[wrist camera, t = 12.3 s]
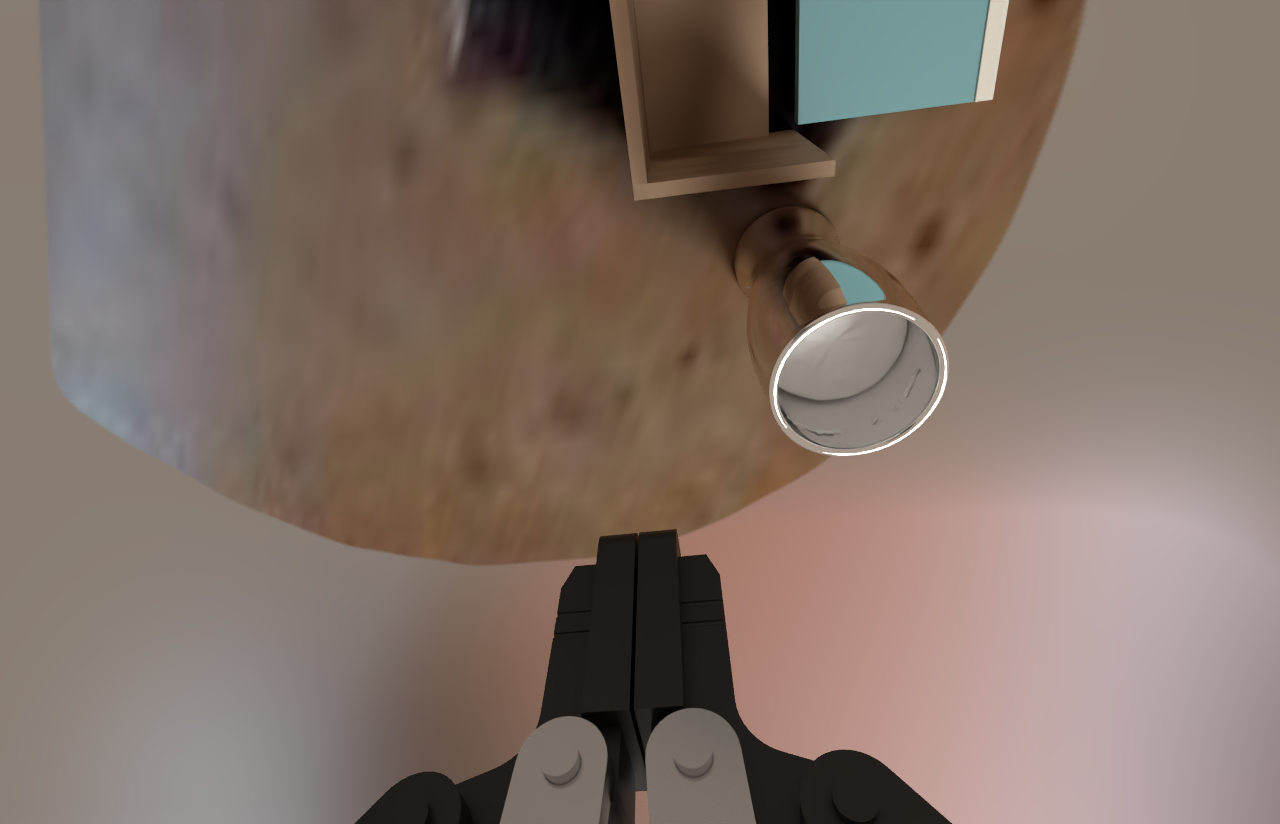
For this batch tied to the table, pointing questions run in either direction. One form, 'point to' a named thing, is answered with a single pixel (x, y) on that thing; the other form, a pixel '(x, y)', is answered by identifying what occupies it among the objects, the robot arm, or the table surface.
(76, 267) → the table surface
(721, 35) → the crate
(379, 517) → the table surface
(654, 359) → the table surface
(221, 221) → the table surface
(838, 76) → the teal panel
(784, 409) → the beer glass
